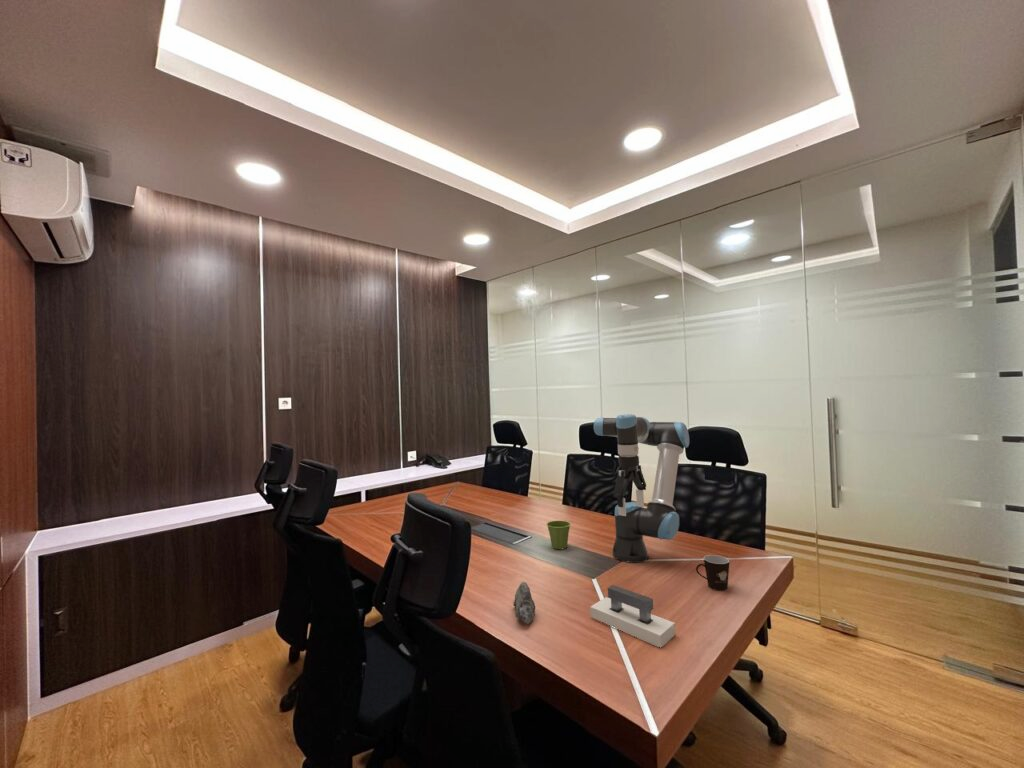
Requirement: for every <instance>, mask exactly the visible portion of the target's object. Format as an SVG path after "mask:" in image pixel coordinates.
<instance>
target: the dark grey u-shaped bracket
mask: <svg viewBox="0 0 1024 768" xmlns="http://www.w3.org/2000/svg"><path fill="white" fill-rule="evenodd" d="M607 598H610V599H611V610H612V611H615V612H617V613H619V612H621V611H622V603H623V604H626V605H629V606H631V607H634V608H637V609H639V614H640V622H642V623H645V624H647V625H648V624H650V623H651V614H652V612H651V611H653V610H654V598H653V597H649V596H646V595H644V594H640V593H638V592H634V591H633V590H632V591H631V590H628V589H627V588H624V587H621V586H618V585H614V584H612V585H611V586H608V587H607Z"/></svg>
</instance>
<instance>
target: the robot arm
mask: <svg viewBox="0 0 1024 768" xmlns="http://www.w3.org/2000/svg"><path fill="white" fill-rule="evenodd" d="M593 432H594V433H595V435H597V436H602V437H603V436H604V437H605V436H607V437H615V438H617V454H618V457H617V458H618V465H619V466H620V467H621V470H618V469H617V470H616V480H615V484H614V486H615V487H614V490H613V494H612V495H613V497H614V498H616V499H617V505H616V506H615V507H614V522H615V540H614V544H613V548H612V557H613V556H614V557H615V559H616V558H617V559H616V560H618V559H620V560H619V561H621V560H623V561H622V562H625V561H629V562H628V563H640V562H641V561H642V562H644V561H647V559H648V558H649V554H648V550H647V546H646V543H645V541H644V536H645V537H650V538H653V539H654V538H655V539H659V540H667V541H670V540H673V539H674V538H675V537H676V535H677V533H678V531H679V529H680V515H679V514H678V513H677V512H676V511H677V510H676V508H675V506H674V505H673V504H674V497H675V488H676V482H677V475H678V467H679V459H680V455H682V454H683V453H684V450H685V449H686V448H689V445H690V434H689V430H688V428H687V425H686V424H685V423H684V422H681V421H680V422H679V421H671V422H670V421H649V420H648V419H647V418H645V417H643V416H636V415H635V414H632V413H631V414H629V413H628V414H619V415H617V416H616V417H597V418H596V419H594V422H593ZM639 444H642V445H646V446H651V447H656V448H657V450H658V452H659V454H658V459H657V464H656V465H657V466H656V470H655V471H656V473H655V478H654V484H653V492H652V497H651V500H650V501H648V502H647V505H646V507H645V499H644V498H645V497H644V491H647V482H646V480H645V477H644V474H643V471H642V466H641V465H640V456H639ZM684 448H685V449H684ZM631 481H632V483H634V485H635V487H636V489H635V494H636V495H635V496H636V502H635V501H633V502H631V501H629V502H626V498H625V497H624V496H625V494H626V491H627V488H628V485H629V484H630V482H631ZM614 557H613V558H614ZM642 562H641V563H642Z"/></svg>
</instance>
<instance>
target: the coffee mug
mask: <svg viewBox="0 0 1024 768" xmlns="http://www.w3.org/2000/svg"><path fill="white" fill-rule="evenodd" d="M701 566H703V567H704V568H705V575H706V576H704V575H702V574H701V573H700V572H699V568H700V567H701ZM695 567H696V568H695V572H696V573H697V574H698V575H699V576H700V577H702V578H703V579H705V580H706V581H707V585H708V587H709V588H710V589H712V590H714V591H719V592H724V591H727V590H728V586H729V573H730V571H729V570H730V560H729V559H728V557H726V556H722V555H718V554H717V555H716V554H707V555H704V556H703V563H699V564H697V565H696V566H695Z"/></svg>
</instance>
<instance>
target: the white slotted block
mask: <svg viewBox="0 0 1024 768" xmlns="http://www.w3.org/2000/svg"><path fill="white" fill-rule="evenodd" d="M589 608H590V618H591V617H593V618H595V619H597V620H599V621H601V622H600V623H602V622H604V623H606V624H608V625H607V626H609V625H610V626H609V627H611V626H613V627H615V628H617V629H616V630H618V629H619V630H618V631H620V630H621V631H620V632H622V631H623V632H622V633H626V634H627V635H629V634H630V636H631V637H634V636H635V637H634V638H636V637H637V639H639V640H641V641H644V642H646V643H648V644H650V645H653V646H655V647H657V648H659V647H660V649H662V648H663V647H664V646H665V645H666V644H667V643H668V642H669V641H671V640H672V638H674V637H675V636H676V623H675V622H674V621H671V620H668V619H666V618H663V617H660V616H657V615H655V614H652V613H651V623H650V624H648V625H647V624H645V623H642V622H640V614H639V609H637V608H635V607H632V606H629V605H627V604H624V603H622V611H621V612H619V613H617V612H615V611H612V610H611V598H608V596H605V597H603V598H602V599H600V600H599V601H597V602H596V603H593V604H592V605H591V606H590V607H589ZM595 619H594V620H595ZM597 620H596V621H597ZM599 621H598V622H599ZM604 623H603V624H604ZM606 624H605V625H606ZM613 627H612V628H613ZM615 628H614V629H615ZM661 647H662V648H661Z"/></svg>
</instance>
